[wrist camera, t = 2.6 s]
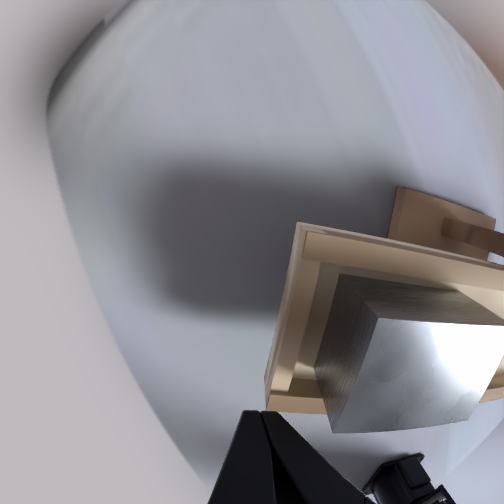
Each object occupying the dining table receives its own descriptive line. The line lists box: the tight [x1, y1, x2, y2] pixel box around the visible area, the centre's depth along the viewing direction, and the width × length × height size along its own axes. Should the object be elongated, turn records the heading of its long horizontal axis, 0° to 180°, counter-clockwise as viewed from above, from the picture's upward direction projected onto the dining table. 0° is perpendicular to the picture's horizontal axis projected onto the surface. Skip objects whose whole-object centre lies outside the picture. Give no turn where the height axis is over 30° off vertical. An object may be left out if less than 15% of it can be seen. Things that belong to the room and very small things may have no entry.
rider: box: [313, 273, 504, 433], centre depth 11 cm, size 5×7×4 cm
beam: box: [264, 222, 504, 414], centre depth 13 cm, size 8×25×3 cm, turn 81°
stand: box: [387, 187, 504, 261], centre depth 17 cm, size 14×10×7 cm
